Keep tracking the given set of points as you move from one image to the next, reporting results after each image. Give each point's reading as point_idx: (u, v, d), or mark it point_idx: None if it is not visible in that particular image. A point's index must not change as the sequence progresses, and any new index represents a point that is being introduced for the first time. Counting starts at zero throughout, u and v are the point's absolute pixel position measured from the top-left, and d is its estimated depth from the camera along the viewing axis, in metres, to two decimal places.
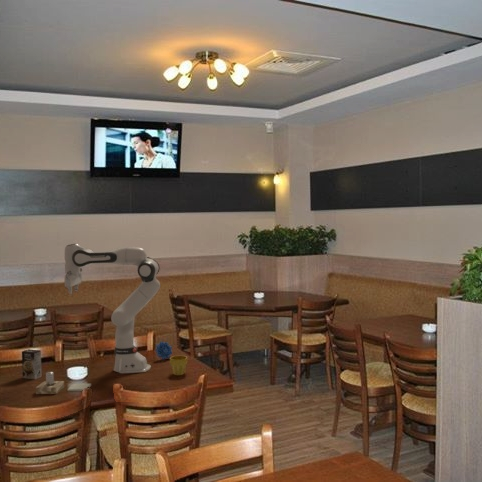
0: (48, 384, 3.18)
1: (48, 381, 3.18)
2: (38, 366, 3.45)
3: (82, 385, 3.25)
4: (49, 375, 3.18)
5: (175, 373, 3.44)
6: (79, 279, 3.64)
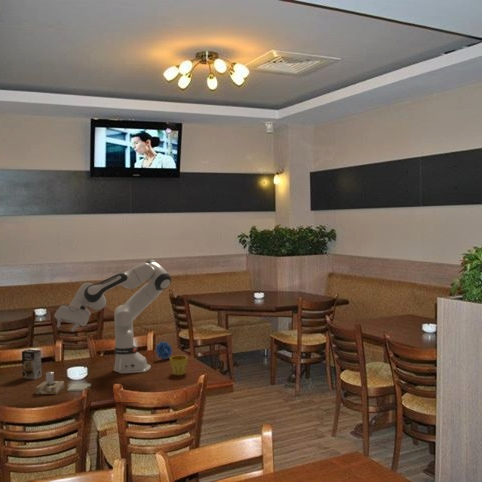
0: (48, 384, 3.18)
1: (48, 381, 3.18)
2: (38, 366, 3.45)
3: (82, 385, 3.25)
4: (49, 375, 3.18)
5: (175, 373, 3.44)
6: (79, 318, 3.26)
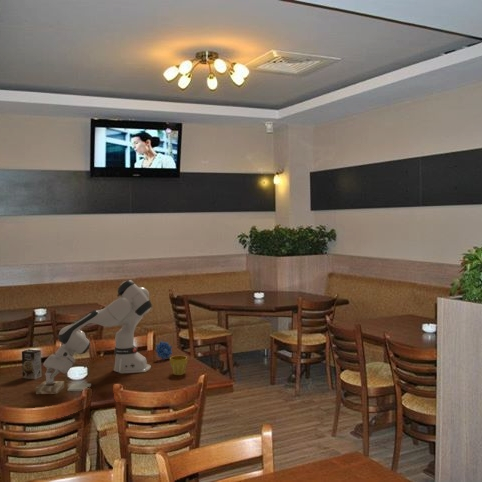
0: (48, 384, 3.18)
1: (48, 381, 3.18)
2: (38, 366, 3.45)
3: (82, 385, 3.25)
4: (49, 375, 3.18)
5: (175, 373, 3.44)
6: (61, 365, 3.18)
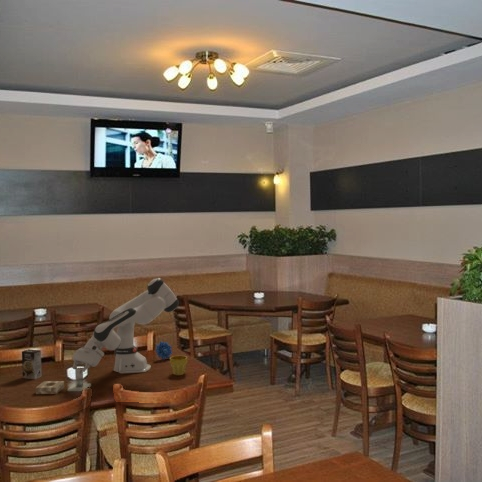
0: (77, 380, 3.21)
1: (77, 377, 3.21)
2: (38, 366, 3.45)
3: None
4: (79, 371, 3.21)
5: (175, 373, 3.44)
6: (90, 358, 3.20)
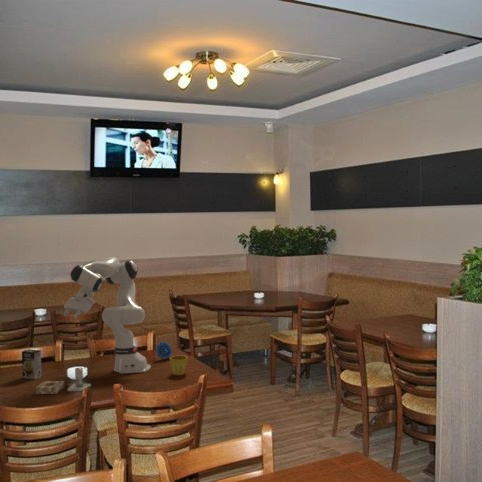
0: (77, 380, 3.21)
1: (77, 377, 3.21)
2: (38, 366, 3.45)
3: None
4: (78, 371, 3.21)
5: (175, 373, 3.44)
6: (81, 305, 3.34)
